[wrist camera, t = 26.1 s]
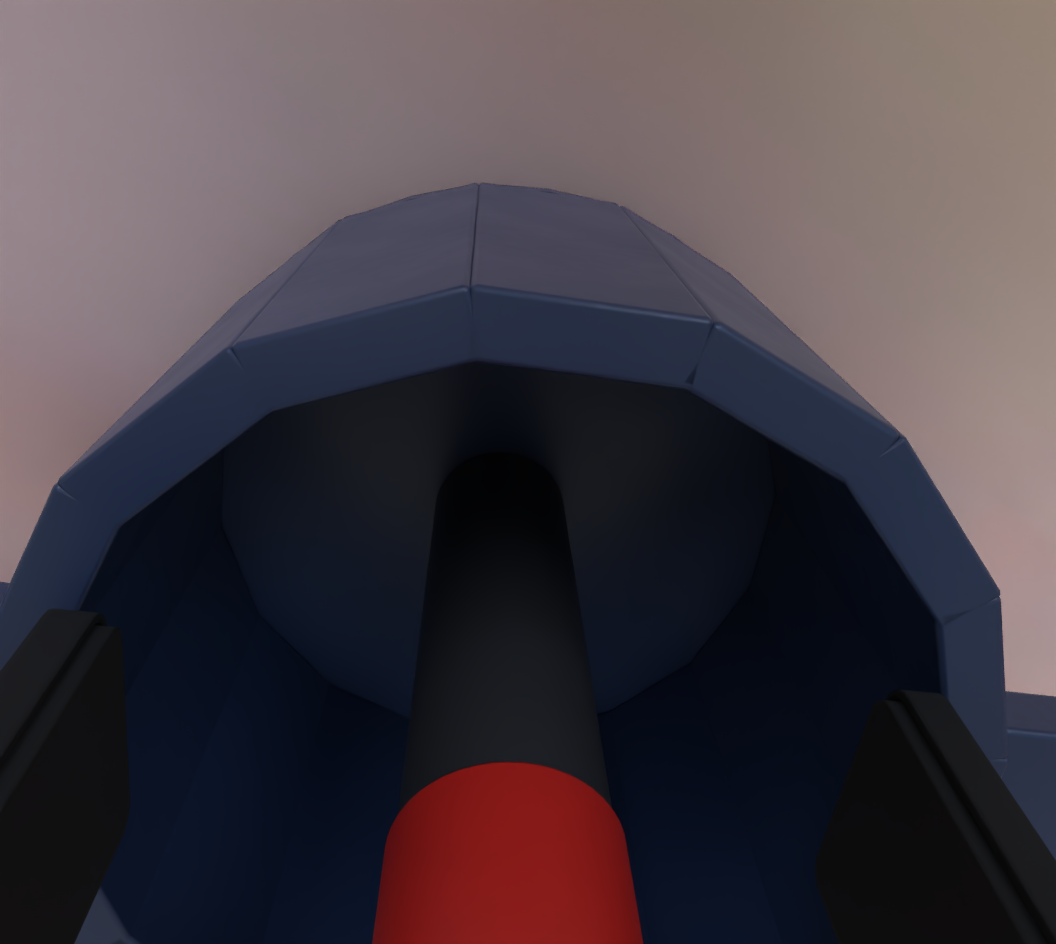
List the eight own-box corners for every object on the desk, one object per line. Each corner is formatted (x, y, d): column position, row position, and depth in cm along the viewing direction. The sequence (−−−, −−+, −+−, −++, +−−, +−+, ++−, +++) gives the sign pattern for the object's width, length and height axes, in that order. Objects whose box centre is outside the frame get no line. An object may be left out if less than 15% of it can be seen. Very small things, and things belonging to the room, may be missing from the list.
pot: (33, 109, 16) (-378, 163, 9) (1015, 259, 18) (1410, 418, 10) (63, 702, 21) (-179, 1073, 14) (831, 777, 23) (1004, 1145, 15)
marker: (438, 438, 19) (359, 1020, 7) (579, 456, 19) (706, 1043, 8) (423, 562, 20) (334, 1229, 9) (556, 577, 20) (640, 1246, 9)
